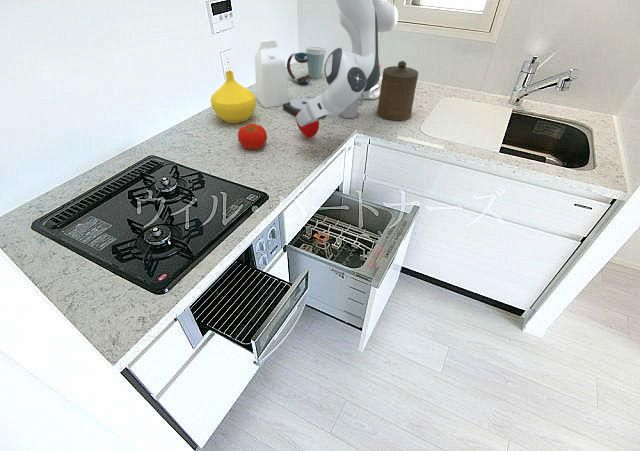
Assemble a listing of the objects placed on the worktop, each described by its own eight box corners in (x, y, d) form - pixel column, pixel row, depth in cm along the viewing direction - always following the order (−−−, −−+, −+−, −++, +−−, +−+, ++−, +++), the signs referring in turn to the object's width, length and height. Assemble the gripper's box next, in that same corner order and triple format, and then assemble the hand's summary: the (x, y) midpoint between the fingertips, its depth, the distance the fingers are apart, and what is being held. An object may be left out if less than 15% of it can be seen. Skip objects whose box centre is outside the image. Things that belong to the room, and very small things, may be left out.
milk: (280, 95, 166) (276, 36, 148) (288, 103, 158) (286, 42, 141) (256, 98, 162) (250, 38, 144) (264, 108, 154) (258, 45, 137)
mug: (345, 119, 146) (347, 94, 139) (334, 112, 152) (336, 87, 144) (367, 114, 151) (370, 89, 144) (356, 107, 156) (358, 83, 149)
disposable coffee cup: (307, 73, 191) (306, 44, 181) (325, 74, 190) (326, 45, 180) (304, 79, 183) (304, 49, 173) (324, 80, 182) (325, 50, 172)
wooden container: (401, 105, 159) (410, 55, 144) (416, 118, 148) (427, 65, 134) (372, 108, 155) (378, 57, 141) (385, 122, 145) (394, 68, 130)
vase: (215, 130, 137) (205, 81, 124) (213, 111, 150) (204, 66, 137) (260, 125, 141) (255, 78, 128) (254, 108, 154) (249, 63, 141)
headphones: (322, 85, 174) (293, 79, 186) (321, 53, 164) (290, 49, 177) (314, 88, 170) (285, 82, 183) (312, 56, 161) (281, 51, 173)
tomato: (250, 136, 133) (248, 118, 128) (273, 143, 129) (271, 125, 124) (232, 147, 126) (229, 129, 121) (255, 155, 122) (253, 136, 117)
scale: (308, 101, 161) (308, 94, 159) (326, 110, 153) (326, 103, 151) (283, 109, 153) (282, 102, 151) (300, 119, 146) (300, 111, 144)
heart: (322, 141, 131) (322, 117, 125) (311, 145, 129) (311, 121, 122) (303, 130, 138) (303, 106, 131) (293, 134, 135) (292, 110, 129)
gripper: (349, 88, 119) (329, 106, 131) (303, 102, 109) (287, 120, 121) (357, 104, 119) (337, 121, 131) (312, 120, 109) (295, 136, 121)
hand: (312, 121), depth 126 cm, fingers open, 8 cm apart
